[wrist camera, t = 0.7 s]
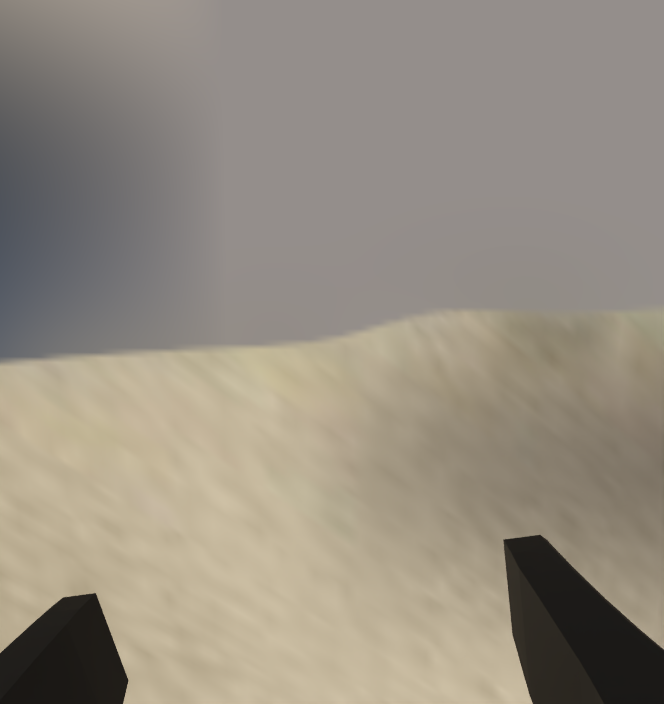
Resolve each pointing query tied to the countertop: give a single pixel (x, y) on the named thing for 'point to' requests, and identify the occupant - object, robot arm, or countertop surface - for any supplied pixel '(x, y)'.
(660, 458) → the countertop surface
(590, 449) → the countertop surface
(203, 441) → the countertop surface
